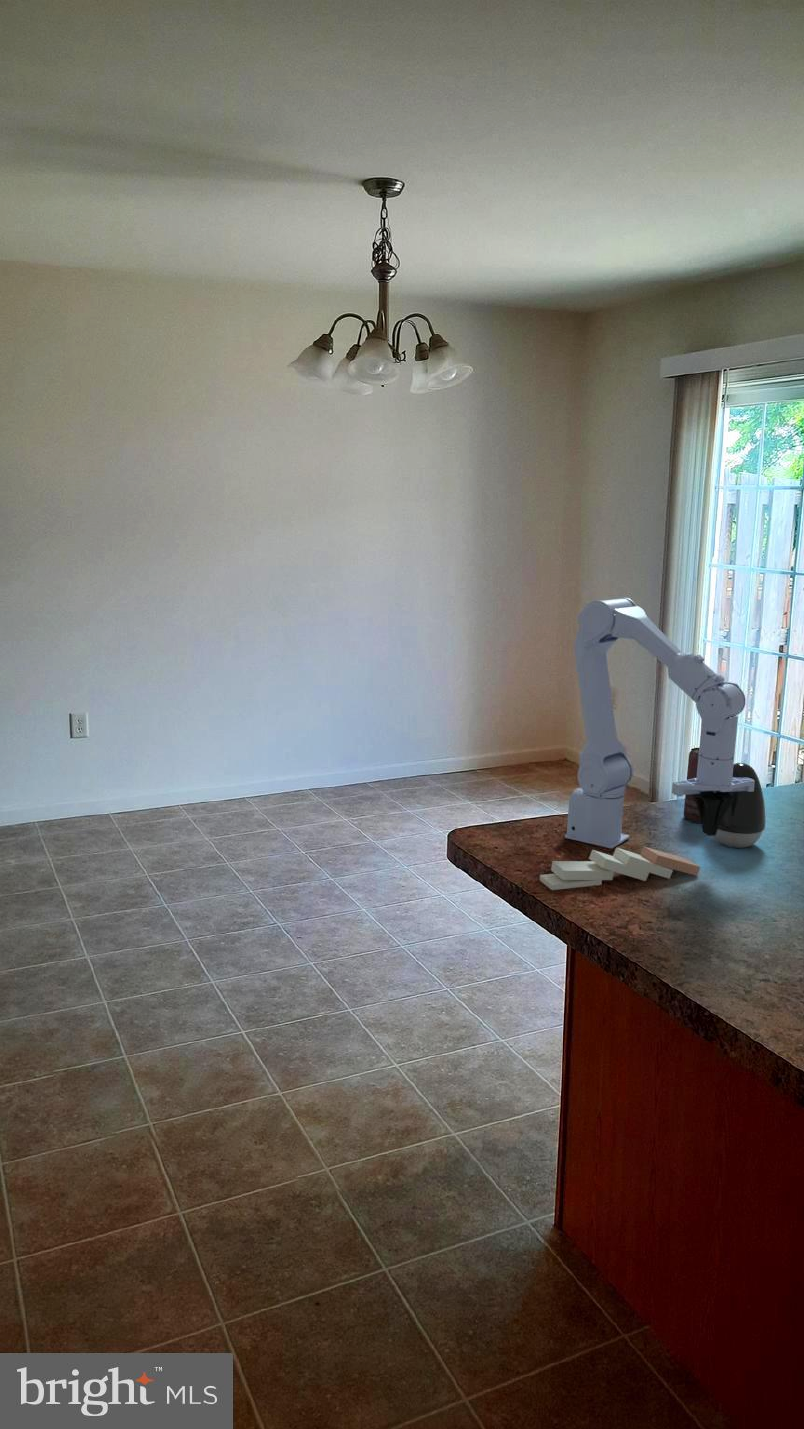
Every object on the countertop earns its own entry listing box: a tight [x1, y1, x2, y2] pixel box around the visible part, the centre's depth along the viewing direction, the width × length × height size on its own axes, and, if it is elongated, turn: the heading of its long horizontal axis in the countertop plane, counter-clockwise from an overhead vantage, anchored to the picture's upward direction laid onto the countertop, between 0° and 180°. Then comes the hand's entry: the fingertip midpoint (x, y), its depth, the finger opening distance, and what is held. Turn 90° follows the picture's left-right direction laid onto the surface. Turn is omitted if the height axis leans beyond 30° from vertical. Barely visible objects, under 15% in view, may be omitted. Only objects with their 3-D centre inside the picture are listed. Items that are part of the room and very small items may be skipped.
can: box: [683, 747, 702, 825], centre depth 205 cm, size 6×6×14 cm
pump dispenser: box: [712, 762, 766, 849], centre depth 191 cm, size 10×10×15 cm
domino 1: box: [539, 873, 603, 891], centre depth 172 cm, size 2×4×9 cm
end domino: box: [639, 846, 701, 877], centre depth 176 cm, size 2×4×9 cm
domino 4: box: [612, 846, 674, 880], centre depth 175 cm, size 2×4×9 cm
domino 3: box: [588, 849, 650, 882], centre depth 173 cm, size 2×4×9 cm
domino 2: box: [550, 860, 615, 881], centre depth 172 cm, size 2×4×9 cm
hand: (709, 833), depth 178 cm, fingers closed
